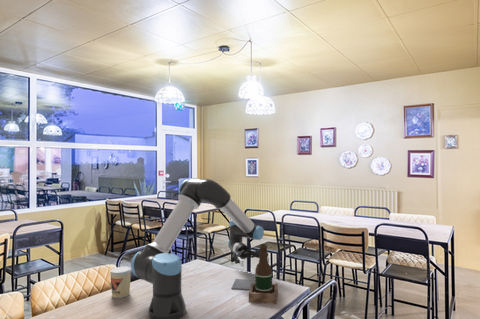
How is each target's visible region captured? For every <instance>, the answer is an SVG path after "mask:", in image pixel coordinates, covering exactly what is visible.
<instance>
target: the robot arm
mask: <svg viewBox="0 0 480 319" xmlns="http://www.w3.org/2000/svg"><path fill="white" fill-rule="evenodd" d="M177 198H178V202H177V203H176V205H175V206H174V208H173V209H172V211H171V212H170V214H169V216H168V218H166V220H165V221H164V224H163V225H162V227H160V230H159V231H158V233H157V234H156V235H155V238H154V239H153V240H152V242H151V243H150V242H149V243H148V244H146V245H145V247H144V248H143V250H140V251H138V252H136V253H135V254H134V255H133V257H132V259H131V261H130V269H131V273H132V274H133V275H134V277H136V278H138V279H140V280H141V281H145V282H147V283H150V284H152V298H151V302H150V304H149V307H148V317H149V319H180V318H182V317H184V316H185V314H186V311H187V305H186V301H185V299H184V297H183V293H182V268H183V266H182V260H181V257H180V256H179V255H177V254H175V253H169V252H170V249H171V248H172V246H173V245H174V243H175V241H176V240H177V238H178V236H179V234H180V233H181V231H182V230H183V229H184V226H185V225H186V223H187V221H188V220H189V218H190V216H191V215H192V213H193V212H194V210H197V209H199V207H200V206H201V205H202V203H206V204H210V205H212V206H214V207H215V209H218V210H219V209H220V211H221V212H222V213H224V214H225V216H227V217H228V218H229V219H230V220H229V239H228V242H227V247H228V248H229V249H228V250H230V251H231V252H232V255H231V258H230V261H231V262H230V263H234V264H235V265H237V264H238V265H240V266H241V267H244V260H246V259H247V258H248V259H249V258H251V259H252V258H257V259H259V257H260V250H258V249H254V250H251V249H250V247H249V246H248V245H246V244H245V243H244V242H243V239H244V238H246V239H251V240H253V241H254V240H255V241H256V240H257V241H259V240H261V239H263V237H264V234H265V230H264V227H263V226H260V225H256V224H255V223H254V222H253V221H252V220H251V218H250V217H249V216H248V215H247V214H246V213H245V212H244V211H243V209H242V208H240V206H238V204H237V203H236V202H235V201H234V200H233V198H231V194H230V193H229V192H228V190H226V189H225V188H224V187H223V186H222V185H221V184H220V183H218V182H217V181H215V180H213V179H209V178H196V177H195V178H194V177H192V178H187V179H185V180H183V181H182V182H181V183H180V184H179V188H178V196H177ZM267 259H268V264H270V256H269V253H268V252H267Z"/></svg>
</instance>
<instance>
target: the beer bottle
mask: <svg viewBox="0 0 480 319" xmlns="http://www.w3.org/2000/svg"><path fill="white" fill-rule="evenodd" d="M259 251H260V257H259V258H258V259H259V260H258V263H257V264H256V267H255V270H254V271H255V274H254V277H255V278H254V280H255V292H254V293H271V294H273V293H272V284H273V271H272V267H271V265H270V263H268V259H267V253H268V246H267V245H266V244H260V245H259Z"/></svg>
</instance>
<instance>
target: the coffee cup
mask: <svg viewBox="0 0 480 319" xmlns="http://www.w3.org/2000/svg"><path fill="white" fill-rule="evenodd" d="M109 274H110V284H111V285H110V286H111V296H112V298H115V299H122V298H123V299H124V298H125V297H128V296H129V295H130V291H131V277H132V276H131V274H132V270H131V266H126V265H125V266H117V267H114V268H112V269H111V270H110V271H109Z"/></svg>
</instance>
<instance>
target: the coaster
mask: <svg viewBox="0 0 480 319" xmlns="http://www.w3.org/2000/svg"><path fill="white" fill-rule="evenodd" d="M252 283H255V279H247V278H244V279H243V278H235V279H234V282H233V284H232V286H231V290H242V291H243V290H244V291H250V287H251V284H252Z"/></svg>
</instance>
